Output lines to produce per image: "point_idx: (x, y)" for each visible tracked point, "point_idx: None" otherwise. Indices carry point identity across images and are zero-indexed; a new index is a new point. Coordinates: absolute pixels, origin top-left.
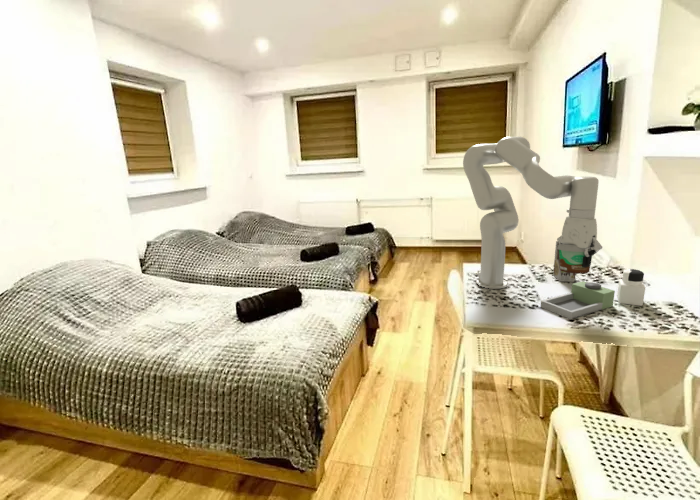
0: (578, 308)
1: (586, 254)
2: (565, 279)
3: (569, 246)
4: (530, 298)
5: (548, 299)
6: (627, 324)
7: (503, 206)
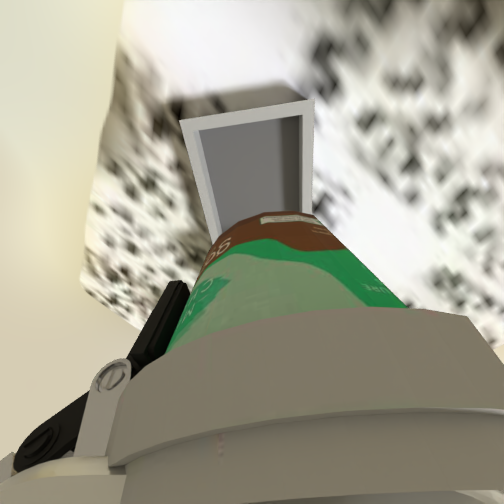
0: (203, 174)
1: (115, 381)
2: None
3: (225, 449)
4: (384, 132)
5: (307, 141)
6: (134, 233)
7: None
